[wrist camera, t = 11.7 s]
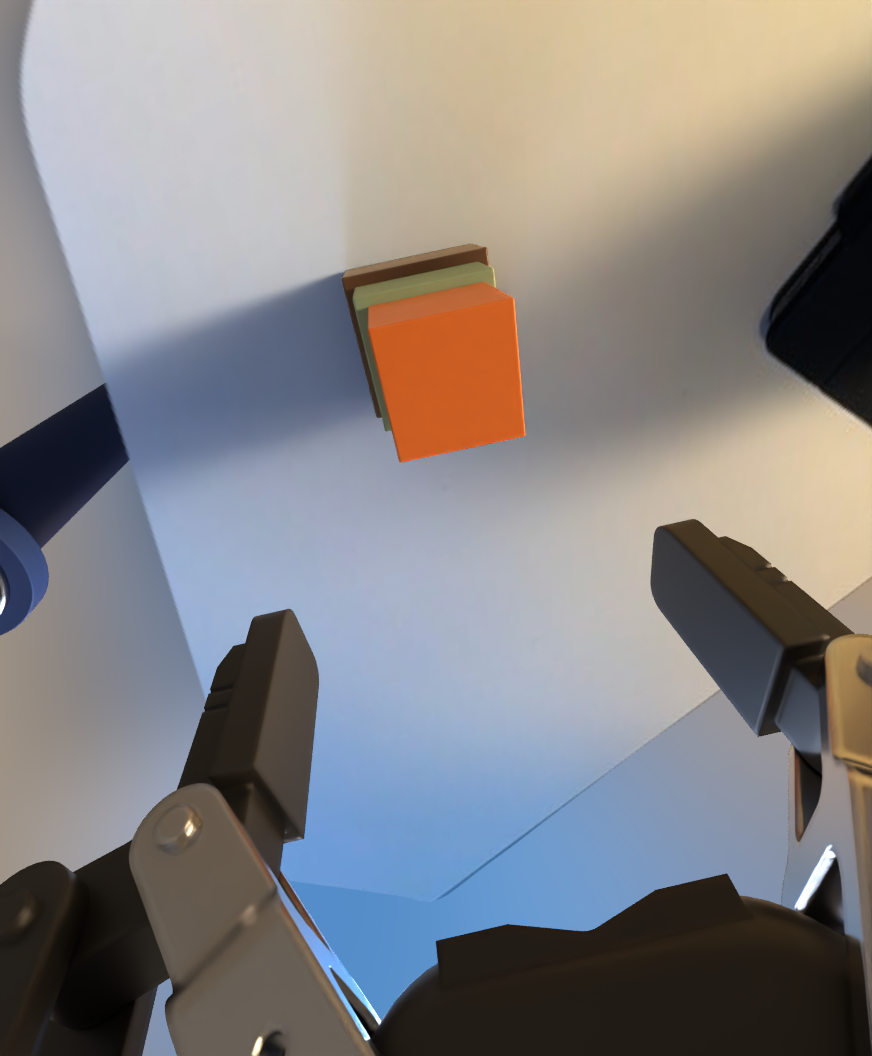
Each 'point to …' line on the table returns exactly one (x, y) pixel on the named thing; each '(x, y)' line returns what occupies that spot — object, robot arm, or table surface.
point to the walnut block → (399, 270)
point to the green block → (407, 289)
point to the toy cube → (448, 369)
